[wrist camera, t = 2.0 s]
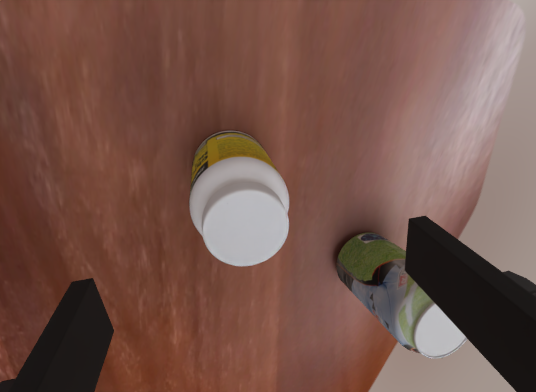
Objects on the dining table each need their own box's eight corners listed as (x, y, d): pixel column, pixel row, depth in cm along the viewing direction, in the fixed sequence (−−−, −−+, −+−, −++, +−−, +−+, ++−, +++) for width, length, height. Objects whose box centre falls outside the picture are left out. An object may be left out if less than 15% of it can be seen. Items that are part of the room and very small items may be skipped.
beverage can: (323, 274, 34) (381, 378, 23) (349, 211, 31) (429, 294, 20) (374, 282, 35) (451, 382, 24) (403, 223, 33) (503, 305, 22)
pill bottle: (191, 127, 25) (185, 173, 15) (269, 130, 27) (310, 175, 17) (192, 200, 28) (187, 281, 18) (263, 199, 29) (296, 275, 19)
